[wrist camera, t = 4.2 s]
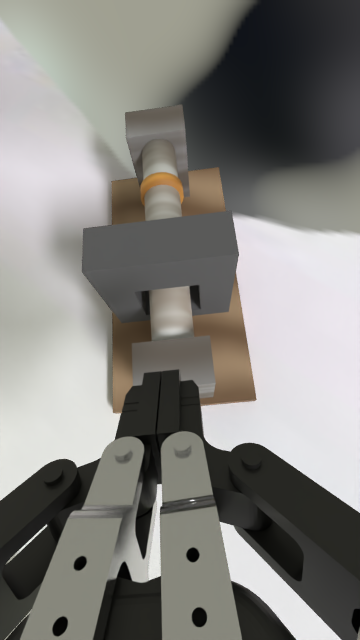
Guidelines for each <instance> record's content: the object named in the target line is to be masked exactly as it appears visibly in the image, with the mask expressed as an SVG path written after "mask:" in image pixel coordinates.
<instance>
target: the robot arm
mask: <svg viewBox="0 0 360 640" xmlns="http://www.w3.org/2000/svg"><path fill="white" fill-rule="evenodd" d="M157 484H162V506H161V507H160V548H161V576H160V577H157V578H155V579H152V580H150V581H149V577H148V568H149V559H150V552H151V545H152V538H153V531H154V524H155V517H156V510H157V501H156V494H157ZM219 521H220V522H223V523H227V524H230V525H234V527H235V529H236V531H237V532H238V533H239V535H240V536H241V537H242V538H243V539H244V540H245V541H246V542H247V543H248V544H249V545H250V546H251V547H252V548H253V549H254V550H255V551H256V552H257V553H258V554H259V555H260V556H261V557H262V558H263V559H264V560H265V561H266V562H267V563H268V564H269V565H270V567H271V568H272V569H273V570H274V571H275V572H276V573H277V574H278V575H279V576H280V577H281V578H282V579H283V580H284V581H285V582H286V583H287V584H288V585H289V586H290V587H291V588H292V589H293V590H294V591H295V592H296V593H297V594H298V595H299V596H300V597H301V598H302V599H303V600H304V601H305V602H306V604H307V605H308V606H309V607H310V608H311V609H312V610H313V611H314V612H315V613H316V614H317V615H318V616H319V617H320V618H321V619H322V620H323V621H324V622H325V623H326V624H327V625H328V626H329V627H330V628H331V629H332V630H333V631H334V632H335V633H336V634H337V635H338V636H339V637H340V638H341V639H342V640H360V513H359V512H357V511H356V510H355V509H353V508H352V507H350V506H349V505H347V504H346V503H344V502H343V501H342V500H340V499H339V498H337V497H336V496H334V495H333V494H332V493H330V492H329V491H327V490H326V489H324V488H323V487H321V486H320V485H319V484H317V483H316V482H314V481H313V480H311V479H310V478H308V477H307V476H306V475H304V474H303V473H301V472H300V471H298V470H297V469H296V468H294V467H293V466H291V465H290V464H288V463H287V462H285V461H284V460H283V459H281V458H280V457H278V456H277V455H275V454H274V453H272V452H271V451H270V450H268V449H267V448H265V447H263V446H261V445H259V444H255V443H244V444H240V445H238V446H236V447H235V448H234V449H232V451H231V452H229V451H224V450H220V449H217V448H215V447H213V446H211V445H210V444H209V443H208V442H207V441H206V440H205V438H204V433H203V422H202V413H201V404H200V395H199V387H198V386H197V385H196V383H195V382H194V381H193V380H186V381H181V374H180V369H176V370H166V371H157V372H147V373H144V375H143V381H142V385H137V386H132V387H131V389H130V390H129V391H128V392H127V394H126V396H125V400H124V405H123V408H122V413H121V416H120V420H119V425H118V429H117V433H116V437H115V440H114V441H113V442H111V443H110V444H109V445H108V446H107V447H106V448H105V450H104V452H103V454H102V457H101V458H100V459H98V460H96V461H94V462H91V463H88V464H86V465H83V466H80V467H78V468H77V467H76V465H75V463H74V462H73V461H71V460H68V459H59V460H55V461H53V462H50V463H48V464H47V465H45V466H44V467H42V468H41V469H40V470H39V471H37V472H36V473H35V474H34V475H32V476H31V477H30V478H28V479H27V480H26V481H25V482H23V483H22V484H21V485H20V486H18V487H17V488H16V489H15V490H13V491H12V492H11V493H10V494H8V495H7V496H6V497H5V498H3V499H2V500H1V501H0V640H4V639H5V638H6V637H7V636H8V635H9V634H10V633H11V631H12V630H13V629H14V628H15V627H16V626H17V625H18V624H19V622H20V621H21V620H22V619H23V618H24V617H25V616H26V615H27V614H28V613H29V611H30V610H31V609H32V610H31V613H30V614H29V615H28V616H27V617H26V618H25V619H24V620H23V621H22V622H21V623H20V624H19V625H18V626H17V627H16V628H15V630H14V631H13V632H12V633H11V634H10V635H9V637H8V638H7V639H6V640H296V639H295V638H294V636H293V635H292V634H291V633H290V631H289V630H288V629H287V628H286V627H285V625H284V624H283V623H282V622H281V621H280V619H279V618H278V617H277V616H276V614H275V613H274V612H273V611H272V610H271V609H270V607H269V606H268V605H267V604H266V603H265V602H264V601H262V600H261V599H260V598H259V597H258V596H257V595H256V594H254V593H253V592H252V591H250V590H249V589H247V588H245V587H244V586H242V585H240V584H238V583H235V582H233V581H231V579H230V574H229V569H228V564H227V559H226V553H225V548H224V543H223V538H222V533H221V527H220V522H219ZM46 524H47V527H46V528H45V529H44V530H43V531H42V532H41V533H40V534H39V535H38V536H36V537H35V538H34V539H33V540H32V541H31V542H30V543H29V544H28V545H27V546H26V547H25V548H24V549H23V550H22V551H21V552H20V553H19V554H17V555H16V556H15V557H14V558H13V559H12V560H11V561H10V562H9V563H7V561H8V560H9V559H10V558H11V557H12V556H13V555H14V554H15V553H16V552H17V551H18V550H19V549H20V548H21V547H23V546H24V545H25V544H26V543H27V542H28V541H29V540H30V539H31V538H32V537H33V536H34V535H35V534H36V533H37V532H38V531H40V530H41V529H42V528H43V527H44V526H45V525H46ZM6 563H7V564H6ZM5 564H6V565H5Z"/></svg>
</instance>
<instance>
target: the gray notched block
mask: <svg viewBox="0 0 360 640" xmlns="http://www.w3.org/2000/svg"><path fill="white" fill-rule="evenodd" d="M238 256H239V252H238V246H237V240H236V234H235V228H234V223H233V217H232V211H224V212H215V213H207V214H199V215H191V216H183V217H174V218H166V219H158V220H150V221H141V222H133V223H125V224H117V225H108V226H100V227H92V228H84V229H83V256H82V273H83V274H84V275H85V276H86V278H87V279H88V280H89V282H90V283H91V284H92V285H93V287H94V288H95V289H96V291H97V292H98V293H99V294H100V296H101V297H102V298H103V300H104V301H105V302H106V303H107V305H108V306H109V307H110V309H111V310H112V311H113V312H114V314H115V315H116V316H117V318H118V319H119V320H120V321H121V323H129V322H138V321H148V320H151V317H150V298H149V290H157V289H166V288H175V287H184V286H189V289H190V299H191V309H192V316H195V315H204V314H214V313H223V312H229V307H230V301H231V295H232V290H233V284H234V279H235V273H236V267H237V262H238Z"/></svg>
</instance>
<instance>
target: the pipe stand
mask: <svg viewBox="0 0 360 640" xmlns="http://www.w3.org/2000/svg"><path fill="white" fill-rule="evenodd" d="M125 120H126V139H127V143H128V146H129V150H130V154H131V157H132V161H133V165H134V169H135V172H136V176H137V178H132V179H124V180H117V181H112V225H117V224H125V223H133V222H141V221H150V220H158V219H166V218H174V217H183V216H191V215H199V214H207V213H215V212H224V211H226V209H225V203H224V197H223V191H222V185H221V179H220V173H219V168H210V169H203V170H195V171H188V162H187V148H186V134H185V124H184V116H183V108H182V105H177V106H169V107H162V108H155V109H148V110H141V111H133V112H126V113H125ZM149 298H150V317H151V320H148V321H138V322H129V323H121V321H120V320H119V319H118V318H117V316H116V315H115V314H114V312H113V311H112V328H113V413H122V408H123V405H124V400H125V396H126V394H127V392H128V391H129V390H130V389H131V387H132V386H137V385H142V381H143V375H144V373H147V372H157V371H166V370H176V369H180V374H181V381H186V380H193V381H194V382H195V383H196V385H197V386H198V387H199V395H200V404H201V406H204V405H215V404H226V403H237V402H248V401H255V400H256V393H255V387H254V381H253V375H252V369H251V363H250V357H249V350H248V344H247V338H246V332H245V326H244V320H243V314H242V308H241V301H240V295H239V289H238V283H237V277H236V273H235V279H234V284H233V290H232V295H231V301H230V307H229V312H223V313H214V314H204V315H195V316H192V309H191V299H190V289H189V286H184V287H175V288H166V289H157V290H149Z"/></svg>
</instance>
